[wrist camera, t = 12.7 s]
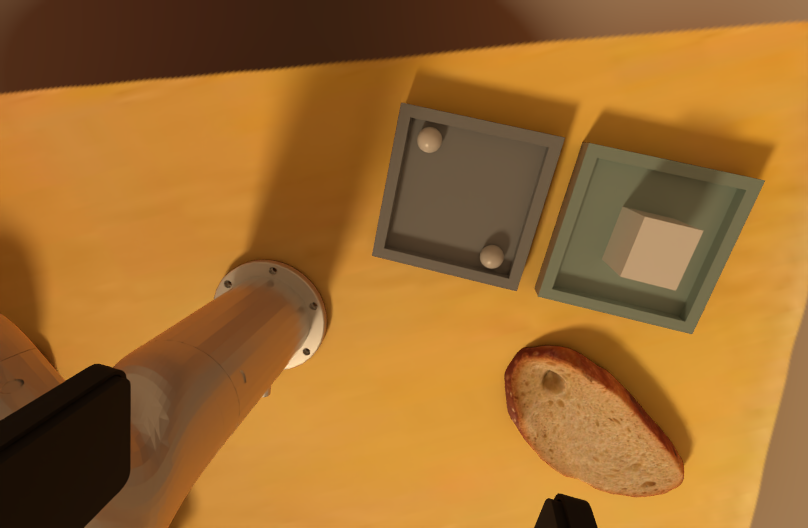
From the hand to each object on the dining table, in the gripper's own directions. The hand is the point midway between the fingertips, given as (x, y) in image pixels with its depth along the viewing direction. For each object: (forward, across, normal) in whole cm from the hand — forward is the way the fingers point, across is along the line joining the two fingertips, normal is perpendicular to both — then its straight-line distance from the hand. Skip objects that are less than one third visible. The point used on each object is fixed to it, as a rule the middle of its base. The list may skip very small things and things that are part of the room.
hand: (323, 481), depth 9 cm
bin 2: (+33, -18, -2) cm, 38 cm away
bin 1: (+33, -2, -2) cm, 33 cm away
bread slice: (+34, -21, +17) cm, 43 cm away
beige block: (+32, -18, -2) cm, 37 cm away
